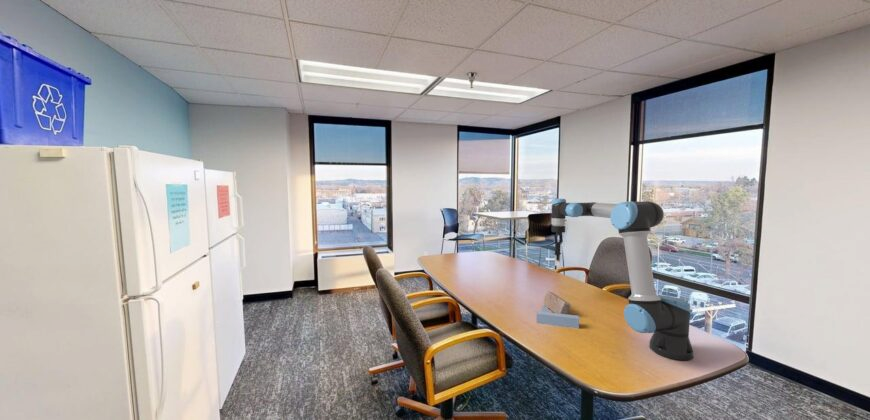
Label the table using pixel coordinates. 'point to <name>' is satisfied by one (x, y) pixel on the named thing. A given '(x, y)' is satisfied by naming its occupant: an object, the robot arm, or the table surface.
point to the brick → (556, 303)
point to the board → (557, 319)
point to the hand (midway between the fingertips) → (557, 265)
